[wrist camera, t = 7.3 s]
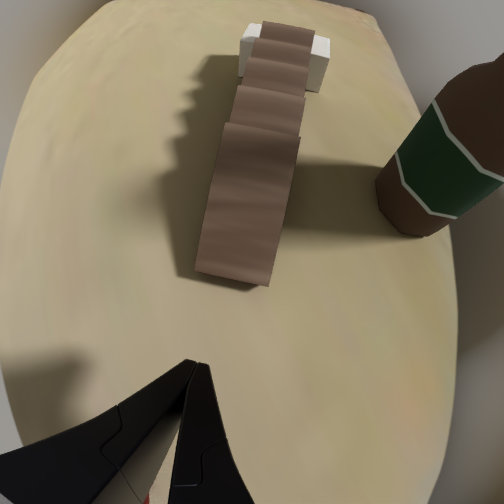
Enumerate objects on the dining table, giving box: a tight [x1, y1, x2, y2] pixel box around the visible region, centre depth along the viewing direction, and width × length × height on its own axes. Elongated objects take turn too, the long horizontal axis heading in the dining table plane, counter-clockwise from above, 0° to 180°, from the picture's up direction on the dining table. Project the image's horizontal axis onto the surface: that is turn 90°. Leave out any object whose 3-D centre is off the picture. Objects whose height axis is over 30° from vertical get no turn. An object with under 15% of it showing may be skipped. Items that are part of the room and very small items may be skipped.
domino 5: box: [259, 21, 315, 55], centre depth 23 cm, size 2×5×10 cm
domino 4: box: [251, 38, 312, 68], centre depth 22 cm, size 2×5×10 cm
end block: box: [238, 23, 330, 93], centre depth 26 cm, size 5×9×5 cm, turn 79°
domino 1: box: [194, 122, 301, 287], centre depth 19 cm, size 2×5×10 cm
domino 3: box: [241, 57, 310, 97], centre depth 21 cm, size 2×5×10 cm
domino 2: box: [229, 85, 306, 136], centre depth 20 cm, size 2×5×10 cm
